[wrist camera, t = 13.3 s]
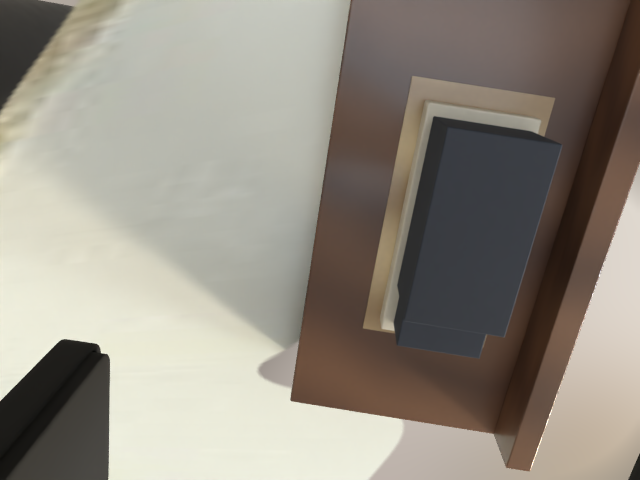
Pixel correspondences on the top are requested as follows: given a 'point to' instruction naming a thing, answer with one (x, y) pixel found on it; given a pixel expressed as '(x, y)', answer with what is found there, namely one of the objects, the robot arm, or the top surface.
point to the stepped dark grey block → (466, 227)
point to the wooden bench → (391, 183)
